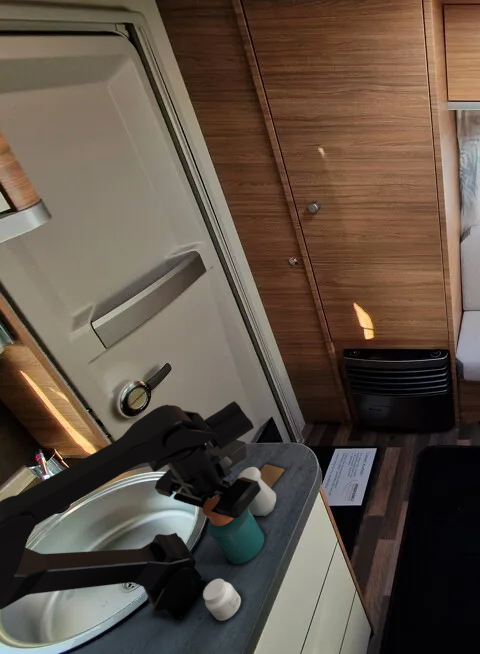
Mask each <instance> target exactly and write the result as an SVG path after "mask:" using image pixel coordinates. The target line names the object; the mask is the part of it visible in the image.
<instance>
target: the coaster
mask: <svg viewBox="0 0 480 654" xmlns="http://www.w3.org/2000/svg"><path fill="white" fill-rule="evenodd" d="M259 471H260V473H261V478H260V479H261V480H262V481H263V482H264V483H265V484H266V485H267V486H268V487H270V488H271V489H272V487H273V486H274V485H275V484H276V483H277V481H278V479H279V478H280V477H281V476H282V474H283V473H284V471H285V468H282V467H278V466H274V465H271V464H267V463H265V464H264V466H263V467H262V468H261V469H260V470H259Z"/></svg>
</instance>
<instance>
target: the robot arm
mask: <svg viewBox="0 0 480 654" xmlns="http://www.w3.org/2000/svg"><path fill="white" fill-rule="evenodd" d="M254 429H255V428H254V424H253V422H252V420H251V419H250V418H248V416H247V415H246V413H245V412H244V411H243V409H242V408H241V406H240V404H239V403H237V402H236V401H235V400H233V401H231V402H229V403H228V404H227V405H225V406H224V407H223V408H221V409H219V410H218V411H217V412H215V413H213V414H211V415H210V416H209V417H207V418H205V419H204V418H203V417H202V415H201V414H200V413H199V412H196V411H189V410H183V409H182V408H181V407H180V406H178V405H175V404H174V405H173V404H163V405H160V406H158V407H156V408H154V409H152V410H151V411H150V412H148V413H146V414H145V415H143V416H142V417H141V418H139V419H138V420H136V421H135V422H133V424H132V425H131V426H129V428H128V429H127V430H126V431H125V432H124V434H123V435H122V436H120V437H119V438H117V439H116V440H114V441H113V442H111V443H109V444H108V445H106V446H104V447H102V448H100V449H99V450H97V451H95V452H93V453H92V454H89V455H88V456H86V457H84V458H83V459H80V460H78V461H77V462H75V463H72V464H71V465H69V466H68V467H66V468H64V469H62V470H60V471H59V472H57V473H55V474H53V475H51V476H50V477H48V478H46V479H44V480H42V481H41V482H39V483H36V484H35V485H33V486H31V487H29V488H28V489H26V490H24V491H22V492H21V493H19V494H15V495H10V496H8V497H6V498H3V499H2V500H0V610H3V609H5V608H7V607H8V606H10V605H12V604H14V603H16V602H17V601H19V600H21V599H23V598H25V597H26V596H29V595H35V594H37V595H38V594H46V593H52V592H53V593H54V592H62V591H70V590H71V591H72V590H79V589H80V590H81V589H87V588H95V587H105V586H113V585H121V584H122V585H123V584H135V585H138V586H140V587H142V588H143V590H144V592H145V593H146V595H147V597H146V600H147V602H149V603H150V604H151V605H152V607H153V611H154V613H156V614H159V615H161V616H164V617H166V618H169V619H172V620H174V621H177V622H181V621H182V620H184V618H185V617H186V616H187V614H188V613H189V611H190V610H191V609H192V607H193V606H194V605H195V603H196V602H197V601H198V600H199V598H200V597H201V596H202V595H203V592H204V589H205V588H206V586H207V585H208V584H209V583H208V581H205V580H203V576H202V575H201V574H200V572H199V571H198V569H197V568H196V565H197V562H196V559H195V557H194V555H193V554H192V553H191V551H190V549H189V547H188V546H187V544H186V543H185V541H184V540H183V538H182V537H181V536H179V535H178V533H177V532H173V533H171V534H170V533H169V534H162V533H158V534H155V536H154V538H153V539H152V540H151V541H150V542H149V543H148V544H146V545H144V546H142V547H140V548H126V549H110V550H109V549H108V550H92V551H90V550H89V551H73V552H70V551H69V552H55V553H54V552H53V553H41V552H38V551H35V550H33V549H31V548H28V547H26V546H27V543H28V540H29V538H30V536H32V533H33V531H34V530H35V528H36V526H37V525H39V524H41V523H42V522H45V521H46V520H48V519H49V518H51V517H53V516H54V515H56V514H57V513H59V512H61V511H62V510H64V509H66V508H67V507H70V506H71V505H73V504H74V503H76V502H77V501H80V500H81V499H82V498H84V497H86V496H88V495H90V494H91V493H93V492H95V491H96V490H98V489H99V488H101V487H103V486H105V485H106V484H108V483H109V482H111V481H113V480H114V479H116V478H118V477H119V476H121V475H123V474H125V473H126V472H128V471H129V470H131V469H133V468H135V467H137V466H139V465H143V464H148V466H149V468H150V469H151V470H152V472H154V473H155V472H158V471H159V470H161V469H162V468H164V467H165V466H167V467H168V468H169V469H168V470H167V471H166V472H164V474H162V476H161V477H159V478H158V479H157V480H156V483H155V486H154V489H155V491H156V492H157V493H158V494H159V495H162V496H164V497H168V498H170V497H172V495H173V494H174V493H175V494H174V495H173V500H175V501H178V502H180V503H184V504H187V505H191V506H194V507H197V508H201V509H203V505H204V503H205V502H206V500H207V499H208V498H209V499H214V498H215V497H216V495H217V494H218V495H219V496H218V498H219V501H218V503H217V504H216V506H215V507H214V508H213V509H212V510H211V512H214V513H217V514H220V515H224V516H228V517H231V518H234V519H235V518H238V517H240V516H241V515H242V513H243V512H244V511H245V509H246V508H247V507H248V506H249V504H250V503H251V502H252V501H253V499H254V498H255V497H256V496H257V494H258V493H259V492H260V491H261V488H260V485H259V483H258V481H255V480H251V479H248V478H245V477H241V478H238V477H237V478H235V479H231V480H226V479H227V478H228V477H229V476H230V475H231V473H232V470H231V469H232V468H233V467H235V466H236V465H237V464H239V463H240V462H241V461H244V460H245V459H247V444H246V442H245V441H243V440H239V439H240V438H241V437H243V436H244V435H246V434H247V433H249V432H250V431H252V430H254ZM224 479H225V480H224Z"/></svg>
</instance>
